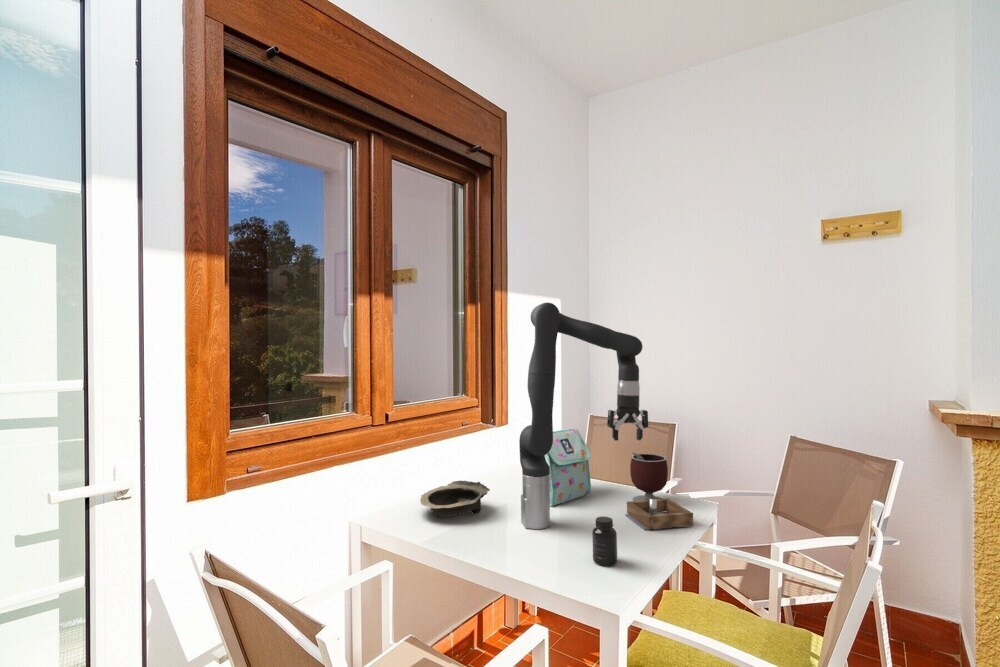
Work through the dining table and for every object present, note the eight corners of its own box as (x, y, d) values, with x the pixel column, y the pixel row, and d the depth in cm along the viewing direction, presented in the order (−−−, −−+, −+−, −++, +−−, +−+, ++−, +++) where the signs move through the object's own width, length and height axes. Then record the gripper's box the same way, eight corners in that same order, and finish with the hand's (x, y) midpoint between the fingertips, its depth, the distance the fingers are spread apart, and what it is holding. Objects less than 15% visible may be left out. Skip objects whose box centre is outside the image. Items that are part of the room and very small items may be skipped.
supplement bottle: (599, 554, 149) (599, 513, 149) (621, 560, 145) (621, 518, 145) (588, 562, 144) (587, 519, 144) (610, 569, 140) (609, 525, 140)
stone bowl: (499, 505, 192) (498, 481, 192) (468, 534, 170) (467, 507, 169) (443, 496, 203) (442, 474, 202) (406, 522, 180) (405, 496, 180)
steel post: (651, 520, 174) (651, 500, 174) (648, 518, 177) (647, 498, 177) (658, 520, 175) (658, 499, 175) (654, 517, 177) (654, 497, 177)
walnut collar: (648, 529, 167) (648, 517, 167) (627, 513, 182) (626, 501, 182) (693, 525, 170) (693, 513, 170) (667, 509, 186) (667, 498, 186)
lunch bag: (554, 509, 189) (553, 436, 189) (524, 498, 201) (523, 430, 202) (594, 496, 203) (594, 429, 203) (564, 487, 216) (564, 423, 216)
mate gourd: (647, 494, 206) (647, 444, 206) (676, 503, 194) (675, 450, 194) (619, 501, 198) (619, 449, 198) (647, 511, 186) (647, 456, 186)
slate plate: (644, 530, 167) (644, 528, 167) (625, 515, 181) (625, 514, 181) (683, 526, 170) (682, 525, 170) (661, 512, 184) (661, 511, 184)
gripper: (613, 394, 173) (612, 442, 173) (652, 394, 176) (651, 442, 175) (604, 392, 180) (603, 438, 180) (642, 392, 183) (641, 437, 183)
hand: (627, 440), depth 178 cm, fingers open, 8 cm apart
